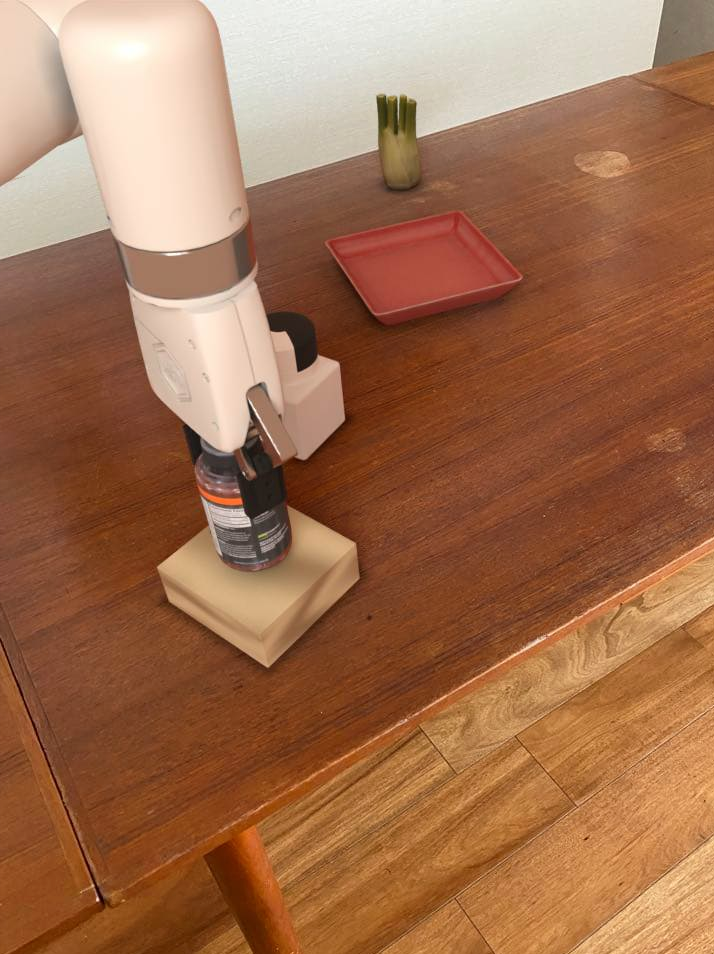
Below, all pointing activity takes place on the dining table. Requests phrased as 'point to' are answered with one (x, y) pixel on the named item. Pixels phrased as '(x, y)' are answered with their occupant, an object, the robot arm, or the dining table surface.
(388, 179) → the fennel bulb
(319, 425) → the medicine bottle
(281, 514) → the supplement bottle
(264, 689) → the dining table surface
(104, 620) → the dining table surface
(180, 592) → the block
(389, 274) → the plant saucer
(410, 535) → the dining table surface
